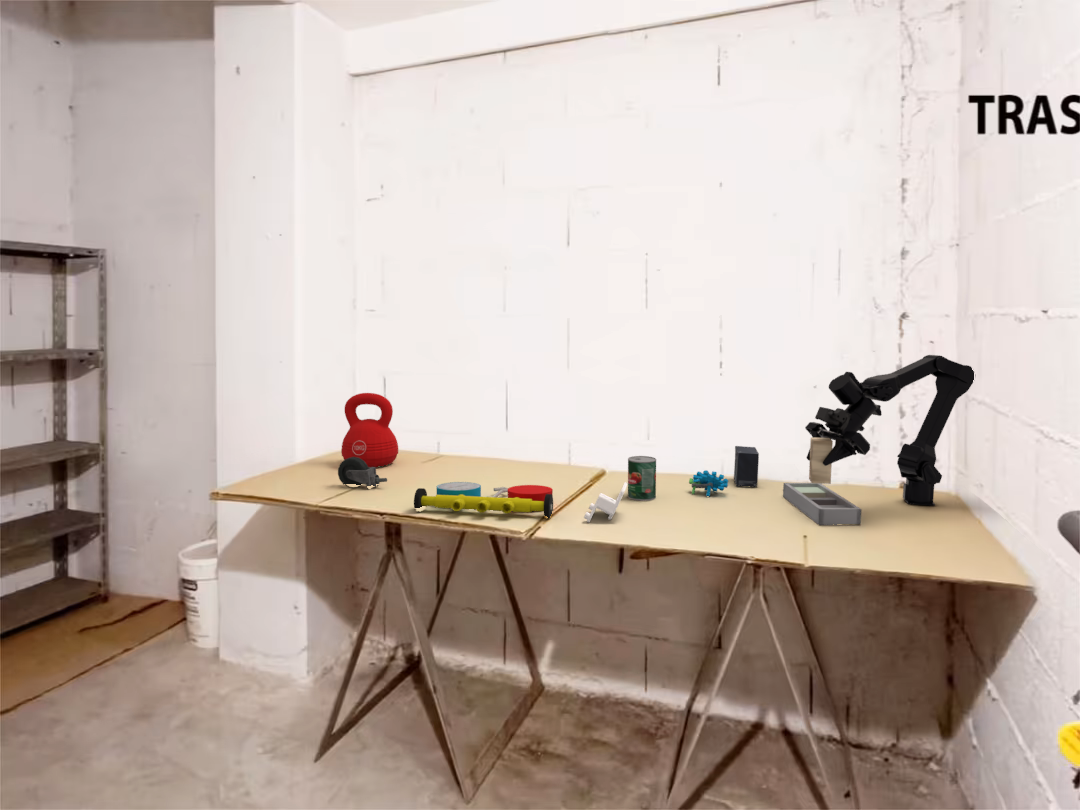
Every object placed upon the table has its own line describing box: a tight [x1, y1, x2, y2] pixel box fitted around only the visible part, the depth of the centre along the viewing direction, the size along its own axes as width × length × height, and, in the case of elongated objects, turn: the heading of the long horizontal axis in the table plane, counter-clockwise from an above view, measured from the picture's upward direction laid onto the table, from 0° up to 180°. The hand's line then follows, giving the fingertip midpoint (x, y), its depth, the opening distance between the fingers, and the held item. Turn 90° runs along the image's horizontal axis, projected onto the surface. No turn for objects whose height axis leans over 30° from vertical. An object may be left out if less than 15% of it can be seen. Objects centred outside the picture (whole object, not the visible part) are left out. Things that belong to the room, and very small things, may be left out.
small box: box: [733, 445, 760, 488], centre depth 208 cm, size 11×6×10 cm, turn 168°
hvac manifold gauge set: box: [413, 481, 554, 519], centre depth 186 cm, size 36×6×25 cm
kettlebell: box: [341, 392, 399, 468], centre depth 236 cm, size 19×19×25 cm
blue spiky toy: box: [688, 470, 729, 498], centre depth 195 cm, size 11×6×10 cm
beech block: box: [808, 436, 833, 485], centre depth 176 cm, size 4×4×11 cm
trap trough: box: [782, 482, 862, 526], centre depth 180 cm, size 26×10×4 cm, turn 179°
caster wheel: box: [337, 457, 388, 487], centre depth 206 cm, size 6×10×15 cm
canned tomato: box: [627, 455, 657, 502], centre depth 193 cm, size 8×8×11 cm
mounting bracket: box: [583, 481, 628, 523], centre depth 175 cm, size 12×6×11 cm, turn 167°
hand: (815, 461), depth 176 cm, fingers closed on beech block, 6 cm apart
